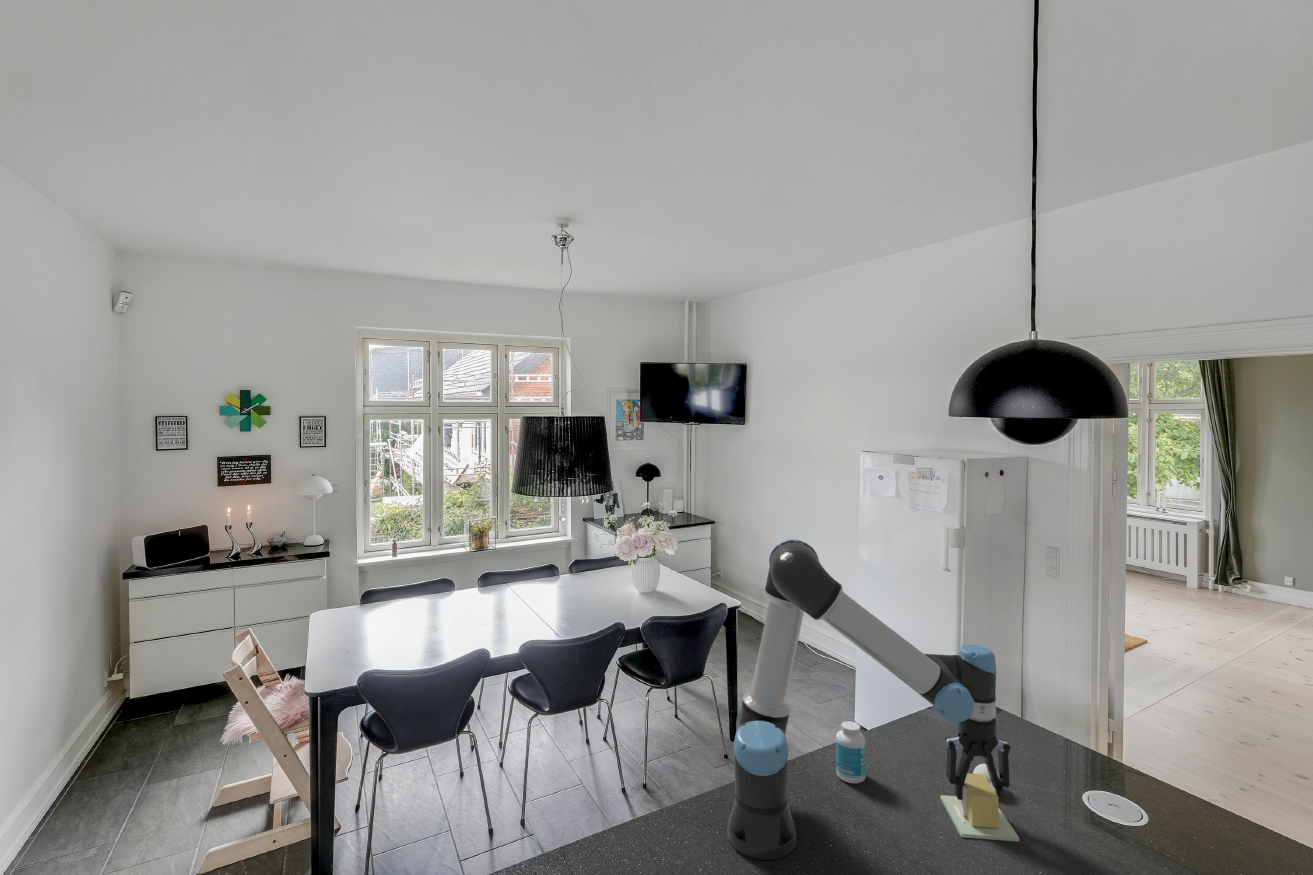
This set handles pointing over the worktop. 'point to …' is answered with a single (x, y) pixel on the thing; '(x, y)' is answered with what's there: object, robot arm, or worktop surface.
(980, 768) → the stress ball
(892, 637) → the robot arm
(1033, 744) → the worktop surface
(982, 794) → the tan yellow block
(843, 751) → the pill bottle
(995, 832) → the board
